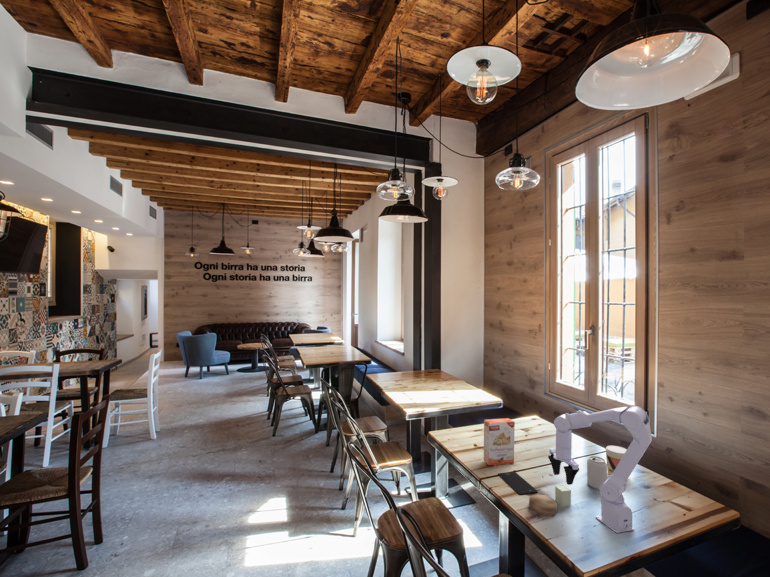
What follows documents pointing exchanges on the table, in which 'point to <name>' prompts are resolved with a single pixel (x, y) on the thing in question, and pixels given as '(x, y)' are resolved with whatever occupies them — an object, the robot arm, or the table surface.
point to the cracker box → (499, 441)
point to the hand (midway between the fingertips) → (562, 479)
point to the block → (563, 495)
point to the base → (543, 504)
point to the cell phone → (517, 483)
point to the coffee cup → (613, 457)
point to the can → (596, 471)
